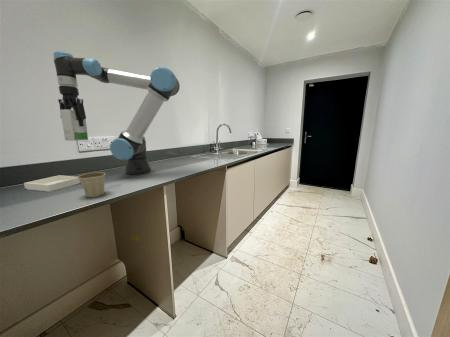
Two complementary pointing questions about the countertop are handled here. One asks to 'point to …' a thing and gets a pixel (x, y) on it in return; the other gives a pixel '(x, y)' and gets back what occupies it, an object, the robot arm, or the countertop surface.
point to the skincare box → (72, 126)
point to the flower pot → (93, 183)
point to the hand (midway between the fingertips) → (75, 132)
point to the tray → (52, 183)
